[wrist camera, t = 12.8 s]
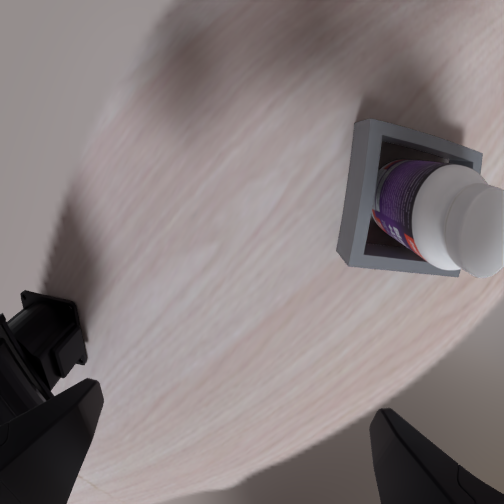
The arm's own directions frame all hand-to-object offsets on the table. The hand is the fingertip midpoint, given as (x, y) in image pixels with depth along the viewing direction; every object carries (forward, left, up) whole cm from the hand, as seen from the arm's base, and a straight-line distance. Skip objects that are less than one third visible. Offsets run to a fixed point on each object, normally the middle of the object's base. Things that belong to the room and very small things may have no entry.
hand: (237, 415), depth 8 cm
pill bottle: (+10, +6, -13) cm, 18 cm away
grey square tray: (+10, +6, -13) cm, 17 cm away
